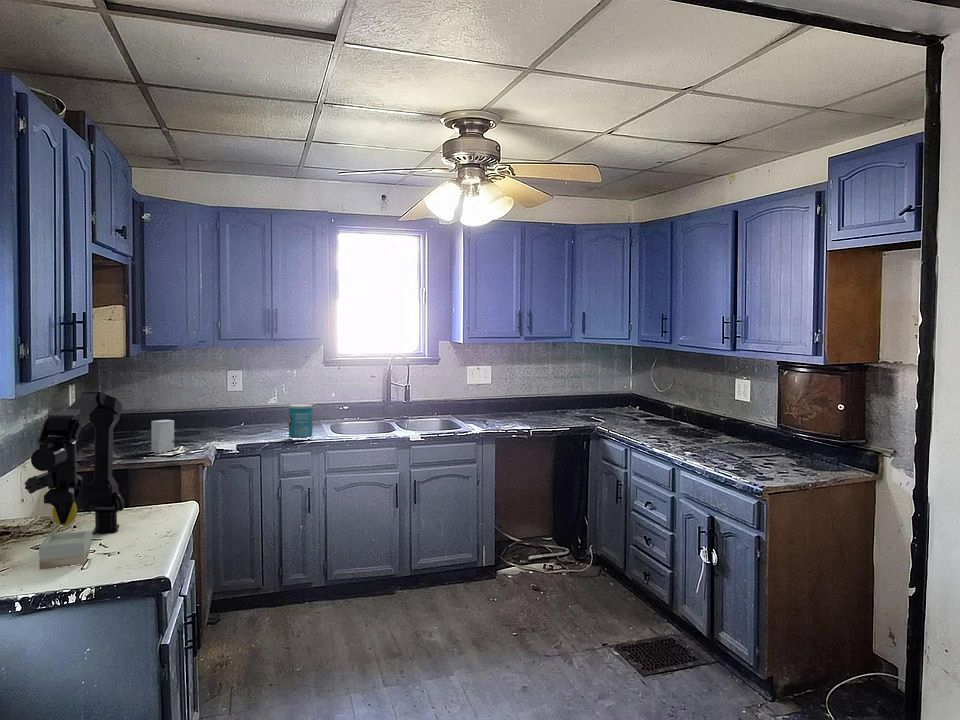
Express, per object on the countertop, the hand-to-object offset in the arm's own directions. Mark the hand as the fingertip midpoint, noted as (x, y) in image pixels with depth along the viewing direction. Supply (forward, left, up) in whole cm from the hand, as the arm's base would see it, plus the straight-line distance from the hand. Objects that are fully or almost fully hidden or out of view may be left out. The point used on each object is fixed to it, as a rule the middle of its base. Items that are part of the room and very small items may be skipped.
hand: (64, 520), depth 179 cm
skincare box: (-143, +18, -11) cm, 144 cm away
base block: (0, 0, -11) cm, 11 cm away
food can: (-159, +83, -11) cm, 180 cm away
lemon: (0, 0, -2) cm, 2 cm away
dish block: (0, 0, -8) cm, 8 cm away
